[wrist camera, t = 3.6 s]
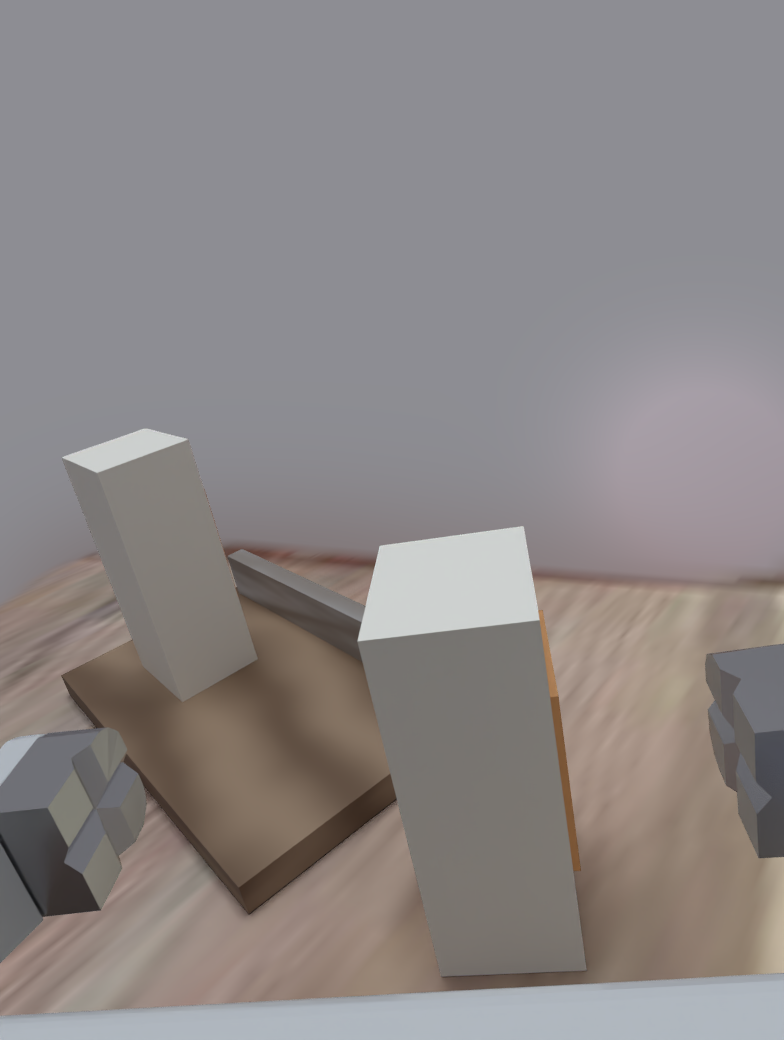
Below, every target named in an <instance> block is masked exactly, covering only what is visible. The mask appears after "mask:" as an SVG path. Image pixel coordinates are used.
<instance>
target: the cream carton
mask: <svg viewBox="0 0 784 1040" xmlns="http://www.w3.org/2000/svg"><path fill="white" fill-rule="evenodd" d="M357 642H358V646H359V650H360V654H361V658H362V662H363V666H364V670H365V674H366V678H367V682H368V686H369V690H370V694H371V698H372V702H373V706H374V710H375V714H376V718H377V722H378V726H379V730H380V734H381V738H382V742H383V746H384V750H385V754H386V758H387V762H388V766H389V770H390V774H391V778H392V782H393V786H394V790H395V794H396V798H397V802H398V806H399V810H400V814H401V818H402V822H403V826H404V830H405V834H406V838H407V842H408V846H409V850H410V854H411V858H412V862H413V866H414V870H415V874H416V878H417V882H418V886H419V890H420V894H421V898H422V902H423V906H424V910H425V914H426V918H427V922H428V926H429V930H430V934H431V938H432V942H433V946H434V950H435V954H436V958H437V962H438V966H439V970H440V974H441V977H447V976H471V975H494V974H518V973H542V972H566V971H587V969H586V961H585V954H584V947H583V939H582V932H581V924H580V917H579V909H578V902H577V894H576V887H575V880H574V872H573V871H581V868H580V861H579V853H578V845H577V837H576V829H575V822H574V814H573V806H572V798H571V791H570V783H569V775H568V767H567V760H566V752H565V744H564V736H563V729H562V721H561V713H560V705H559V697H558V692H557V686H556V681H555V675H554V670H553V665H552V659H551V654H550V648H549V643H548V637H547V632H546V627H545V621H544V616H543V610H538V608H537V602H536V596H535V590H534V584H533V579H532V573H531V567H530V562H529V556H528V550H527V544H526V538H525V533H524V527H523V526H521V527H514V528H507V529H500V530H492V531H484V532H477V533H470V534H463V535H456V536H448V537H441V538H434V539H426V540H419V541H412V542H404V543H397V544H390V545H382V546H380V547H379V552H378V556H377V560H376V564H375V569H374V573H373V577H372V581H371V586H370V590H369V594H368V598H367V603H366V607H365V611H364V615H363V620H362V624H361V628H360V632H359V637H358V641H357Z"/></svg>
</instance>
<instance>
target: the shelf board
mask: <svg viewBox="0 0 784 1040" xmlns="http://www.w3.org/2000/svg"><path fill="white" fill-rule="evenodd" d="M228 560H229V563H230V566H231V569H232V572H233V575H234V579H235V582H236V585H237V587H236V591H237V594H238V598H239V601H240V604H241V608H242V611H243V614H244V617H245V620H246V624H247V627H248V630H249V633H250V636H251V639H252V643H253V646H254V649H255V652H256V655H257V658H258V659H257V660H255V661H254V662H252V663H250V664H248V665H247V666H245V667H243V668H241V669H240V670H238V671H236V672H235V673H233V674H231V675H229V676H228V677H226V678H224V679H222V680H221V681H219V682H217V683H215V684H214V685H212V686H210V687H208V688H207V689H205V690H203V691H201V692H200V693H198V694H196V695H194V696H193V697H191V698H189V699H187V700H186V701H184V702H182V701H181V700H180V699H178V698H177V697H176V696H175V695H174V694H173V693H172V692H171V691H170V690H168V689H167V688H166V687H165V686H164V685H163V684H162V683H161V682H160V681H159V680H157V679H156V678H155V677H154V676H153V675H152V674H151V673H150V672H149V671H148V670H146V669H145V668H144V667H143V665H142V663H141V660H140V658H139V655H138V653H137V650H136V647H135V645H134V642H133V640H131V641H129V642H127V643H125V644H123V645H121V646H119V647H117V648H115V649H113V650H111V651H109V652H107V653H105V654H103V655H101V656H99V657H97V658H95V659H93V660H91V661H89V662H87V663H85V664H83V665H81V666H79V667H77V668H75V669H73V670H71V671H69V672H67V673H65V674H63V675H61V676H62V678H63V680H64V683H65V685H66V687H67V689H68V692H69V694H70V695H71V697H72V698H73V699H74V700H75V702H76V703H77V704H78V705H79V706H80V708H81V709H82V710H83V711H84V713H85V714H86V715H87V716H88V718H89V719H90V720H91V721H92V722H93V724H94V725H95V726H96V727H97V728H106V727H109V728H111V729H114V730H116V731H118V732H119V734H120V736H121V738H122V739H123V741H124V743H125V745H126V747H127V752H126V755H125V758H124V762H125V763H126V764H127V765H128V766H129V767H130V768H131V769H133V770H134V771H135V772H137V773H138V774H139V776H140V779H141V781H142V783H143V785H144V786H145V787H146V789H147V790H148V791H149V792H150V794H151V795H152V796H153V797H154V798H155V800H156V801H157V802H158V803H159V805H160V806H161V807H162V808H163V810H164V811H165V812H166V813H167V814H168V816H169V817H170V818H171V819H172V821H173V822H174V823H175V824H176V825H177V827H178V828H179V829H180V830H181V832H182V833H183V834H184V835H185V836H186V838H187V839H188V840H189V841H190V843H191V844H192V845H193V846H194V848H195V849H196V850H197V851H198V852H199V854H200V855H201V856H202V857H203V859H204V860H205V861H206V862H207V863H208V865H209V866H210V867H211V868H212V870H213V871H214V872H215V873H216V875H217V876H218V877H219V878H220V879H221V881H222V882H223V883H224V884H225V886H226V887H227V888H228V889H229V890H230V892H231V893H232V894H233V895H234V897H235V898H236V899H237V900H238V902H239V903H240V904H241V905H242V906H243V908H244V909H245V910H246V911H247V913H248V914H250V913H251V912H252V911H253V910H255V909H256V908H257V907H259V906H260V905H261V904H262V903H264V902H265V901H266V900H267V899H269V898H270V897H271V896H273V895H274V894H275V893H276V892H278V891H279V890H280V889H282V888H283V887H284V886H285V885H287V884H288V883H289V882H290V881H292V880H293V879H294V878H296V877H297V876H298V875H299V874H301V873H302V872H303V871H305V870H306V869H307V868H308V867H310V866H311V865H312V864H313V863H315V862H316V861H317V860H319V859H320V858H321V857H322V856H324V855H325V854H326V853H328V852H329V851H330V850H331V849H333V848H334V847H335V846H337V845H338V844H339V843H340V842H342V841H343V840H344V839H345V838H347V837H348V836H349V835H351V834H352V833H353V832H354V831H356V830H357V829H358V828H360V827H361V826H362V825H363V824H365V823H366V822H367V821H368V820H370V819H371V818H372V817H374V816H375V815H376V814H377V813H379V812H380V811H381V810H383V809H384V808H385V807H386V806H388V805H389V804H390V803H392V802H393V801H394V800H395V799H397V798H396V794H395V790H394V786H393V782H392V778H391V774H390V770H389V766H388V762H387V758H386V754H385V750H384V746H383V742H382V738H381V734H380V730H379V726H378V722H377V718H376V714H375V710H374V706H373V702H372V698H371V694H370V690H369V686H368V682H367V678H366V674H365V670H364V666H363V662H362V658H361V654H360V650H359V646H358V642H357V641H358V637H359V632H360V628H361V624H362V620H363V615H364V611H365V607H366V606H364V605H362V604H360V603H357V602H355V601H353V600H351V599H349V598H347V597H344V596H342V595H340V594H338V593H336V592H334V591H331V590H329V589H327V588H325V587H323V586H321V585H319V584H316V583H314V582H312V581H310V580H308V579H306V578H303V577H301V576H299V575H297V574H295V573H293V572H290V571H288V570H286V569H284V568H282V567H280V566H277V565H275V564H273V563H271V562H269V561H267V560H265V559H262V558H260V557H258V556H256V555H254V554H252V553H249V552H247V551H245V550H243V549H241V550H239V551H237V552H235V553H233V554H231V555H229V556H228Z"/></svg>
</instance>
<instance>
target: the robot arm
mask: <svg viewBox="0 0 784 1040" xmlns="http://www.w3.org/2000/svg"><path fill="white" fill-rule="evenodd" d="M705 670H706V682H707V684H708V686H709V688H710V691H711V693H712V695H713V697H714V699H715V701H714V702H713V704H712V705H711V706H710V708H709V709H708V718H709V729H710V736H711V741H712V746H713V751H714V755H715V758H716V761H717V764H718V767H719V770H720V772H721V775H722V777H723V779H724V782H725V784H726V786H728V787H730V788H731V789H733V790H734V791H736V792H737V798H738V814H739V816H740V818H741V820H742V823H743V825H744V827H745V829H746V831H747V834H748V836H749V838H750V840H751V842H752V845H753V847H754V849H755V851H756V854H757V856H758V858H773V857H784V644H778V645H771V646H763V647H756V648H748V649H741V650H733V651H725V652H718V653H710V654H707V655H706V662H705ZM126 752H127V747H126V745H125V743H124V741H123V739H122V738H121V736H120V734H119V732H118V731H116V730H114V729H111V728H109V727H106V728H96V729H86V730H76V731H66V732H56V733H48V734H38V735H30V736H22V737H17V738H14V739H12V740H9V741H7V742H6V743H5V744H4V745H3V747H2V748H1V749H0V963H1V962H2V961H3V960H4V959H5V958H6V957H7V956H8V955H9V954H10V953H11V952H12V951H13V950H14V949H15V948H16V947H17V946H18V945H19V944H20V943H21V942H22V941H23V940H24V939H25V938H26V937H27V936H28V935H29V934H30V933H31V932H32V931H33V930H34V929H35V928H36V927H37V926H38V925H39V924H40V923H41V922H42V921H43V917H45V916H54V915H63V914H72V913H81V912H90V911H99V910H101V909H102V907H103V905H104V903H105V901H106V899H107V897H108V895H109V894H110V892H111V890H112V888H113V886H114V884H115V882H116V880H117V878H118V876H119V874H120V872H121V870H122V865H121V862H120V858H119V855H120V854H122V853H123V852H124V851H125V850H126V849H127V848H129V847H130V846H131V845H132V844H133V843H135V842H136V840H137V838H138V836H139V833H140V831H141V829H142V827H143V825H144V819H145V812H146V805H147V802H146V796H145V790H144V786H143V783H142V781H141V779H140V776H139V774H138V773H137V772H135V771H134V770H133V769H131V768H130V767H129V766H127V765H126V764H124V763H123V761H124V758H125V755H126ZM0 1040H784V973H773V974H756V975H738V976H720V977H703V978H685V979H667V980H649V981H630V982H611V983H592V984H574V985H555V986H536V987H517V988H499V989H480V990H461V991H442V992H424V993H405V994H387V995H369V996H351V997H333V998H315V999H297V1000H279V1001H261V1002H243V1003H225V1004H207V1005H189V1006H171V1007H152V1008H134V1009H116V1010H98V1011H80V1012H62V1013H43V1014H25V1015H7V1016H0Z"/></svg>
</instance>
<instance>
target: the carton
mask: <svg viewBox="0 0 784 1040" xmlns="http://www.w3.org/2000/svg"><path fill="white" fill-rule="evenodd" d="M62 460H63V463H64V465H65V468H66V470H67V473H68V475H69V478H70V481H71V483H72V486H73V488H74V491H75V493H76V496H77V499H78V501H79V504H80V506H81V509H82V511H83V514H84V516H85V519H86V522H87V524H88V527H89V529H90V532H91V534H92V537H93V539H94V542H95V545H96V547H97V550H98V552H99V555H100V558H101V560H102V563H103V565H104V568H105V570H106V573H107V576H108V578H109V581H110V583H111V586H112V588H113V591H114V594H115V596H116V599H117V601H118V604H119V606H120V609H121V611H122V614H123V617H124V619H125V622H126V624H127V627H128V629H129V632H130V635H131V637H132V640H133V642H134V645H135V647H136V650H137V653H138V655H139V658H140V660H141V663H142V665H143V667H144V668H145V669H146V670H148V671H149V672H150V673H151V674H152V675H153V676H154V677H155V678H156V679H157V680H159V681H160V682H161V683H162V684H163V685H164V686H165V687H166V688H167V689H168V690H170V691H171V692H172V693H173V694H174V695H175V696H176V697H177V698H178V699H180V700H181V701H182V702H184V701H186V700H187V699H189V698H191V697H193V696H194V695H196V694H198V693H200V692H201V691H203V690H205V689H207V688H208V687H210V686H212V685H214V684H215V683H217V682H219V681H221V680H222V679H224V678H226V677H228V676H229V675H231V674H233V673H235V672H236V671H238V670H240V669H241V668H243V667H245V666H247V665H248V664H250V663H252V662H254V661H255V660H257V659H258V658H257V655H256V652H255V649H254V646H253V643H252V639H251V636H250V633H249V630H248V627H247V624H246V620H245V617H244V614H243V611H242V608H241V604H240V601H239V598H238V594H237V591H236V588H235V584H234V581H233V578H232V575H231V572H230V569H229V565H228V562H227V559H226V556H225V553H224V550H223V546H222V543H221V540H220V537H219V534H218V530H217V527H216V525H215V521H214V518H213V515H212V511H211V509H210V505H209V502H208V499H207V496H206V493H205V489H204V487H203V485H202V481H201V478H200V475H199V471H198V468H197V465H196V462H195V459H194V455H193V452H192V449H191V446H190V443H189V440H188V439H185V438H181V437H177V436H173V435H169V434H165V433H162V432H158V431H154V430H150V429H146V428H145V429H142V430H139V431H136V432H134V433H131V434H128V435H125V436H122V437H119V438H116V439H113V440H110V441H107V442H105V443H102V444H99V445H96V446H93V447H91V448H87V449H85V450H81V451H79V452H76V453H73V454H70V455H67V456H64V457H62Z"/></svg>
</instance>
